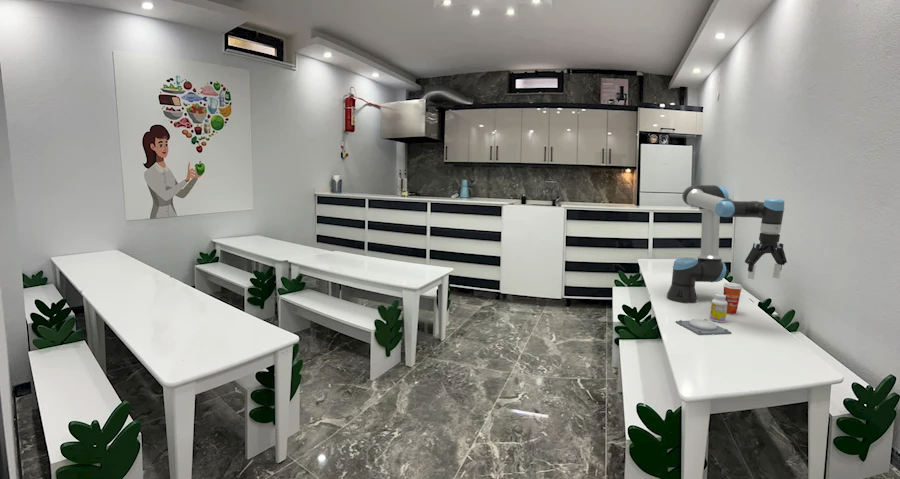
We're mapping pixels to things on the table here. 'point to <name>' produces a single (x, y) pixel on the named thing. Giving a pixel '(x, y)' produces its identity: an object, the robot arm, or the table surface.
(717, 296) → the supplement bottle
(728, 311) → the coffee cup
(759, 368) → the table surface
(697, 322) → the flange
